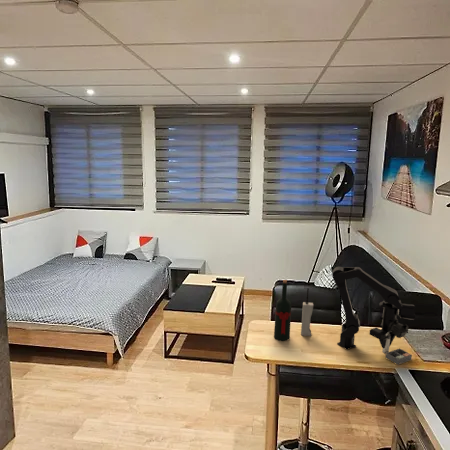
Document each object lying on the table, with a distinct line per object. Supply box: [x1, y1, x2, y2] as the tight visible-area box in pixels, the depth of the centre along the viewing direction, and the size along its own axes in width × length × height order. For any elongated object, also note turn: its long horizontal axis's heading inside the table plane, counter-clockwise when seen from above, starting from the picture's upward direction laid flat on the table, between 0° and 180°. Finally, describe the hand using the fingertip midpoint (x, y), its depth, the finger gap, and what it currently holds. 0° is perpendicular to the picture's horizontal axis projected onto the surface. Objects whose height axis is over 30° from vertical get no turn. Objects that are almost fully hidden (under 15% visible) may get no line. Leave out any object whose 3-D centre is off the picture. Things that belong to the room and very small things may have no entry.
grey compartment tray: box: [385, 348, 413, 366], centre depth 176 cm, size 9×6×3 cm
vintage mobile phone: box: [300, 287, 314, 337], centre depth 196 cm, size 4×5×25 cm
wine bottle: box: [273, 279, 292, 342], centre depth 190 cm, size 8×10×30 cm
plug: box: [381, 333, 391, 354], centre depth 181 cm, size 3×3×9 cm
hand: (385, 347), depth 182 cm, fingers open, 4 cm apart
